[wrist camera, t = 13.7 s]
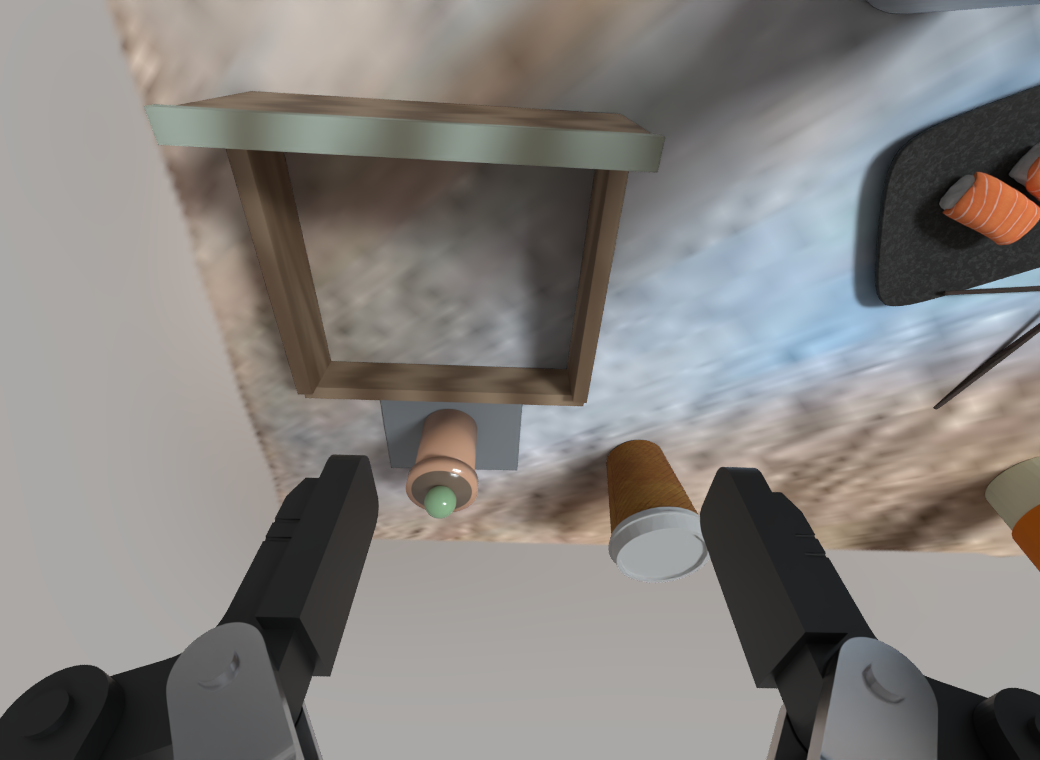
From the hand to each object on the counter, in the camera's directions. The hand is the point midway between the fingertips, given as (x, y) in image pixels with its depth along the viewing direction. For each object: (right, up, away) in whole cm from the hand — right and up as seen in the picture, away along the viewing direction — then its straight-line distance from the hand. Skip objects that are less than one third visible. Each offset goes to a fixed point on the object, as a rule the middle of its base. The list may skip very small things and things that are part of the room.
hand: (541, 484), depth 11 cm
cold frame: (-7, +12, +26) cm, 30 cm away
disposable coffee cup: (+12, -6, +41) cm, 43 cm away
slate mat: (-7, -2, +37) cm, 38 cm away
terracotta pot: (-8, -3, +37) cm, 38 cm away
